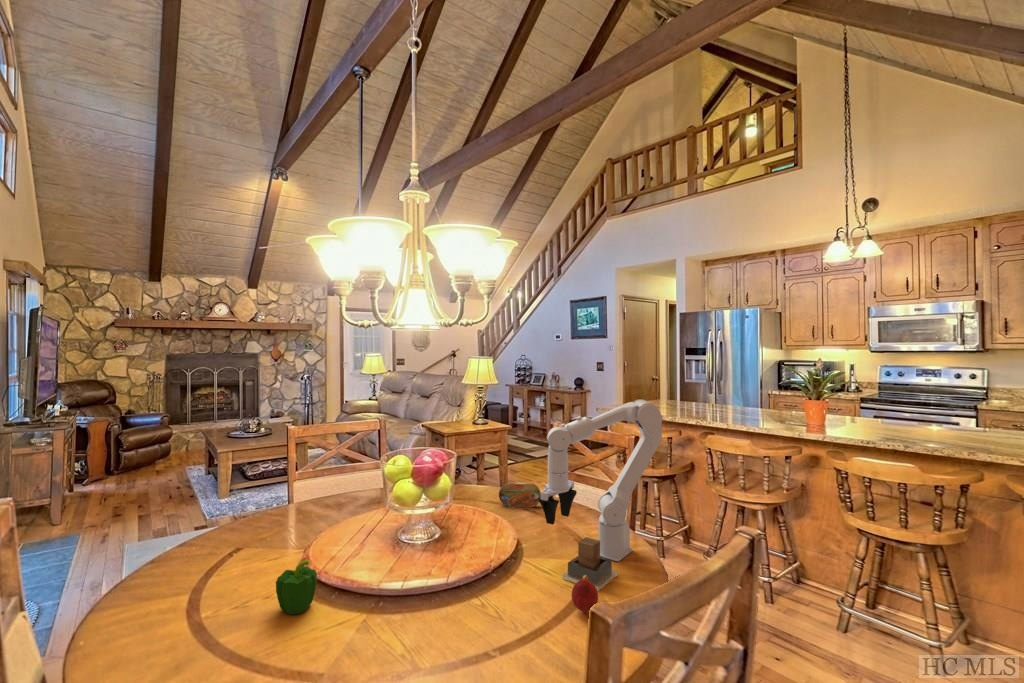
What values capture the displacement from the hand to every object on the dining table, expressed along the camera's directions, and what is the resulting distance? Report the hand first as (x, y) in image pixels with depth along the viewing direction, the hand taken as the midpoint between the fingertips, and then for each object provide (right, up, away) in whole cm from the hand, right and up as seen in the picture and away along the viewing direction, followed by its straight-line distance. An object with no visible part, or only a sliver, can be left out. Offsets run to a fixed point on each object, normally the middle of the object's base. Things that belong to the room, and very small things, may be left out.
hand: (557, 519), depth 139 cm
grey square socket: (+7, -10, -14) cm, 18 cm away
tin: (-10, -10, +39) cm, 42 cm away
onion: (+3, -10, -30) cm, 32 cm away
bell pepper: (-60, -10, -29) cm, 68 cm away
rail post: (+7, -9, -14) cm, 18 cm away
